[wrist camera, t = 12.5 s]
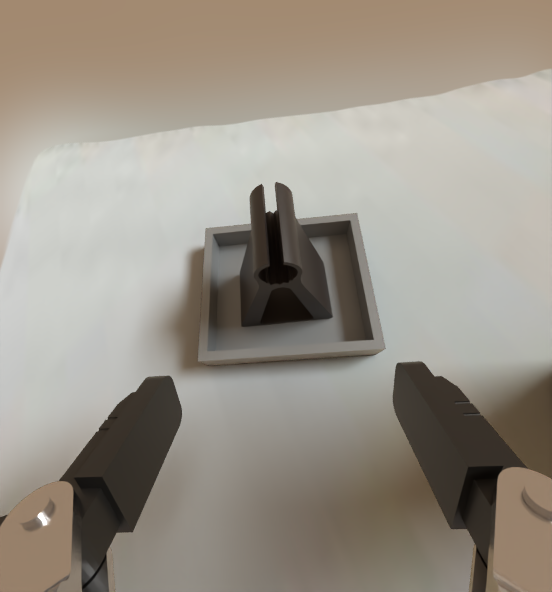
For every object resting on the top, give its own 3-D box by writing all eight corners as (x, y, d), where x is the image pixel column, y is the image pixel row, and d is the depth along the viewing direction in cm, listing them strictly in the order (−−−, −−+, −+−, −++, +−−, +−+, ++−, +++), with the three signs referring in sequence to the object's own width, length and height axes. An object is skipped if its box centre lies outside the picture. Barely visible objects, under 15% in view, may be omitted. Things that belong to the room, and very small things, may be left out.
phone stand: (241, 327, 26) (197, 272, 15) (240, 273, 28) (201, 191, 17) (332, 318, 25) (356, 254, 14) (324, 264, 28) (338, 174, 17)
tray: (351, 230, 30) (356, 213, 27) (376, 354, 24) (385, 348, 22) (214, 243, 31) (205, 228, 28) (208, 365, 25) (197, 361, 23)
